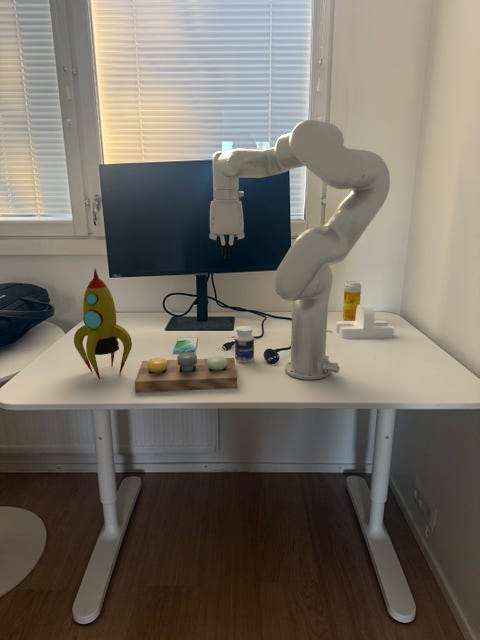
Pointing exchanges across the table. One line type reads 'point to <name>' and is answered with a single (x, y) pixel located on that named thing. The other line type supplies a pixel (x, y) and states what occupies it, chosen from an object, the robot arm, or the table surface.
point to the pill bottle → (244, 344)
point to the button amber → (157, 365)
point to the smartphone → (185, 345)
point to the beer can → (351, 300)
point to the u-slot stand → (364, 325)
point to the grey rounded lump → (187, 361)
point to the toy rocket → (100, 326)
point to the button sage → (217, 363)
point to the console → (186, 377)
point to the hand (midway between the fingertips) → (227, 257)
